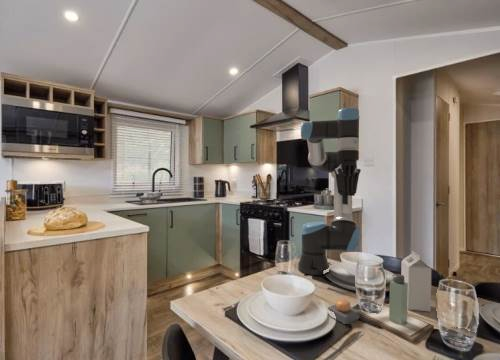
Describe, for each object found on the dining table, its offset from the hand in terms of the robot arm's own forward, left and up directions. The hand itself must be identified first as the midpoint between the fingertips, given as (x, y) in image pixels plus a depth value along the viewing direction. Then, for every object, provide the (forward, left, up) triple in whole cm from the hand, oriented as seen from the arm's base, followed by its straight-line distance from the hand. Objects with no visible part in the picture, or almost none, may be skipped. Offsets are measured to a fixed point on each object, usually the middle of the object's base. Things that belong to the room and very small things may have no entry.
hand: (347, 212), depth 99 cm
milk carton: (+17, +16, -33) cm, 40 cm away
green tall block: (+20, -1, -31) cm, 37 cm away
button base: (+8, -12, -32) cm, 35 cm away
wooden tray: (+18, 0, -32) cm, 37 cm away
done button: (+8, -12, -30) cm, 33 cm away
